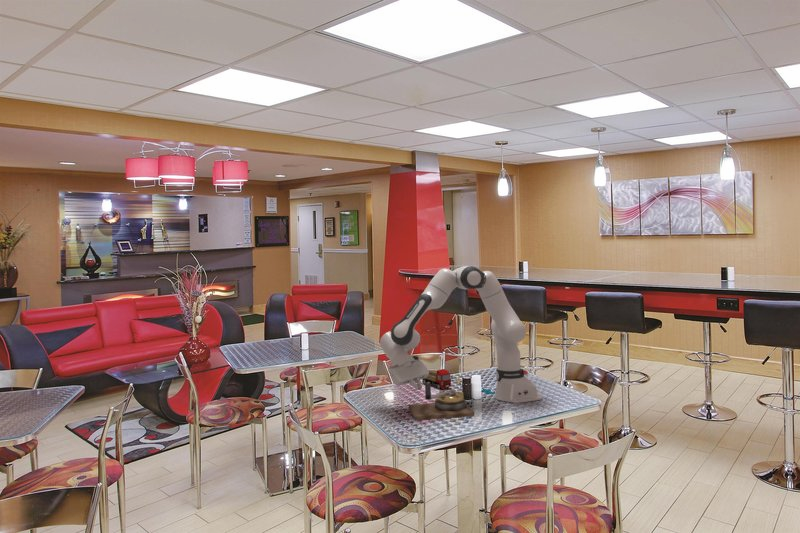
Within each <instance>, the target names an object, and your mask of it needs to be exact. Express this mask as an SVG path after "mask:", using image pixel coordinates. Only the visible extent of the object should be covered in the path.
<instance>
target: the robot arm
mask: <svg viewBox="0 0 800 533" xmlns="http://www.w3.org/2000/svg"><path fill="white" fill-rule="evenodd" d="M455 289H460V290H461V289H462V290H464V291H465V290H476V291H477V292H478V295H479V296H480V299H481V301H482V303H483V305H484V308H485V310H486V312H487V314H488V315H489V316H490V317H491V319H492V321H491V323H490V328H491V329H490V330H491V331H492V334H493V339H494V340H493V341H494V344H495V349H496V367H497V368H496V372H495V374H496V375H495V376H496V377H495V378H496V390H495V392H494V393H495V394H494V399H496V400H498V401H503V402H508V403H512V404H519V403H526V402H532V401H533V402H534V401H542V400H543V395H542V394H541V393H539V392H538V389H537V386H536V384H535V383H534V382H533V381H531V380H530V379H529V378H527V377H526V376H528V374H529V372H528V371H527V370H526V369H523V368H521V367H522V366H521V351H520V349H519V347H518V343H519V342H521V341H523V340H524V339H525V338H526V336H527V328H526V326H525V325H524V323H523V322H522V321H521V320H520V317H519V316H518V314H517V313H516V312H515V310H514V309H513V307H512V306H511V303H510V302H509V299H508V298H507V296H506V294H505V292H504V290H503V287H502V285H501V283H500V281H499V280H498V278H497V277H496V275H495V274H494V273H493V272H492V271H490V270H484V271H483V270H480V269H479V268H477V267H476V266H472V265H471V266H470V265H464V266H458V267H456V268H454V269H450V268H441V269H439V271H438V272H436V274H435V275H434V276H433V277H432V279H431V280H430V281H429V283H428V284H427V286H426V287H425V289H424V291H423V292H422V293H421V294H420V296H419V297H418V298H417V299H416V300H415V302H414V303H413V304H412V305H411V307H410V308H409V310H408V311H406V313H405V315H404V316H403V317H402V318H401V320H398V322H396V323H395V324H394V325H393V326H392V327H391V329H390V330H389V331H387V332H385V333H384V334H382V336H381V337H380V340H379V344H380V345H379V346H380V348H381V349H382V351H383V353H384V355H385V356H386V357H387V359H389V361H390V364H391V366H389V367H388V370H387V371H388V374H389V375H390V378H391V380H392V382H393V384H394V385H395V386H397V387H399V386H402V385H403V386H404V385H406V384H409V385H410V386H412V387H413V388H414V389H415V390H416V391H417V390H421V389H422V388H423V385H422V382H421V380H422V379H424V378H426V377H427V376H428V375H429V371H430V370H429V369H428V368H427V366H426V365H425V363H424V362H423V361H421V358H420V356H418V355H413V354H409V353H408V352H410V351H412V350H413V349H416V348H417V347H418V346H419V345H420V343H421V334H420V333H419V332H418V331H417V330H416V329H415V328H416V325H418V323H419V321H420V319H422V317H423V316H424V314H425V313H426V312H428V311H430V310H437V309H439V308H441V307H442V306H443V305H445V303H446V302H447V300H448V299H449V297H450V296H451V293H452V292H453V291H454V290H455Z"/></svg>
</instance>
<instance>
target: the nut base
mask: <svg viewBox="0 0 800 533" xmlns="http://www.w3.org/2000/svg"><path fill="white" fill-rule="evenodd" d="M408 409H409V411H410V413H411V415H412V417H413V419H414V420H415V421H424V420H434V419H435V420H436V419H437V420H438V419H439V420H440V419H449V418H465V417H466V418H467V417H475V412H474V410H472V408H471V407H470V406H469V405H468V404H467V400H466V399H465V398H464V401H463V402H462V403H459V404H442V403H439V402H437V398H435V400H434V402H429V403H427V402H426V403H413V404H412V403H411V404H408Z"/></svg>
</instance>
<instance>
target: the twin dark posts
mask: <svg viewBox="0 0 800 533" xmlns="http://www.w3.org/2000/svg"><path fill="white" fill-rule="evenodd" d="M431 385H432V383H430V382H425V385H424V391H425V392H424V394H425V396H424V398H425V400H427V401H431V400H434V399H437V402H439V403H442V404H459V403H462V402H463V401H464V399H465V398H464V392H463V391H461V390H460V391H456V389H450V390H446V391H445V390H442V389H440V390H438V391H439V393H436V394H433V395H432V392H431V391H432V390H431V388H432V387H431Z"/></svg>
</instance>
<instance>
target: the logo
mask: <svg viewBox="0 0 800 533" xmlns="http://www.w3.org/2000/svg"><path fill="white" fill-rule="evenodd" d="M455 380H458V381H456V384H458V383H459V385H462V384H461V380H462V379H460V378H454V379H453V381H455ZM482 389H483V390H482V391H483V393H485V394H487V395H495V393H496V392H494V391H491V389H489V388H488V389H487V388H484V387H482ZM482 391H481V392H482Z"/></svg>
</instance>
